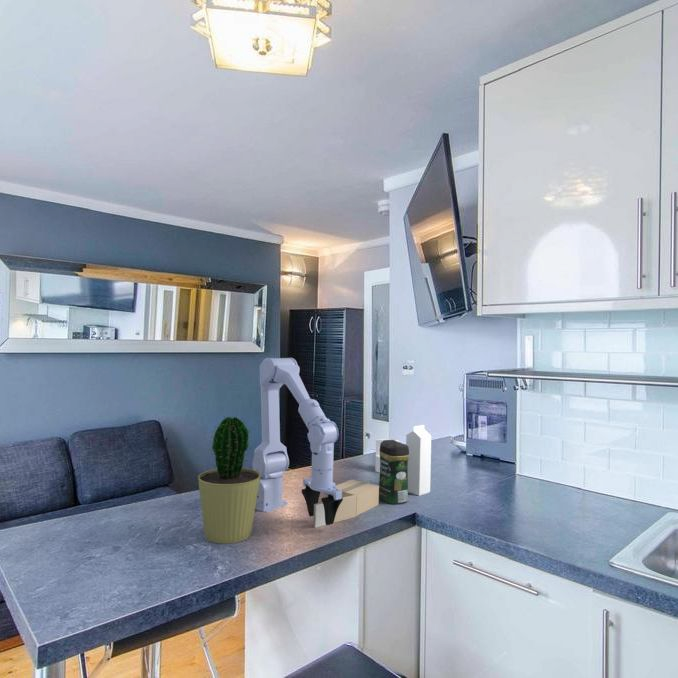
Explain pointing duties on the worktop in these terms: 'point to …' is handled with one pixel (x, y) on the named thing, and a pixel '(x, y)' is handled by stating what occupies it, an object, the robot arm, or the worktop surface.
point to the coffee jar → (393, 472)
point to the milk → (419, 460)
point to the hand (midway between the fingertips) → (321, 519)
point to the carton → (361, 494)
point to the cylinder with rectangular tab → (377, 462)
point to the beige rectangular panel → (344, 512)
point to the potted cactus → (229, 486)
